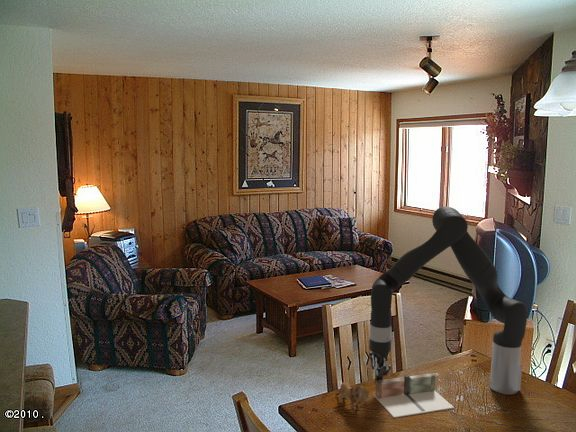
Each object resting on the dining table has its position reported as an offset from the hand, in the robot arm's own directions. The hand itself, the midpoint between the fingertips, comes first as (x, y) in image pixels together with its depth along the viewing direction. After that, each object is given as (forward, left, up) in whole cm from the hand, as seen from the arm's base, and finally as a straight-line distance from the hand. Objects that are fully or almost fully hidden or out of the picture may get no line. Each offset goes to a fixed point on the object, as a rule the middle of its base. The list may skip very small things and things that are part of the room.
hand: (378, 384), depth 172 cm
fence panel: (-3, +3, -3) cm, 5 cm away
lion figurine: (+12, +5, -4) cm, 14 cm away
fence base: (-14, +3, -3) cm, 15 cm away
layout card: (-9, +8, -4) cm, 13 cm away
